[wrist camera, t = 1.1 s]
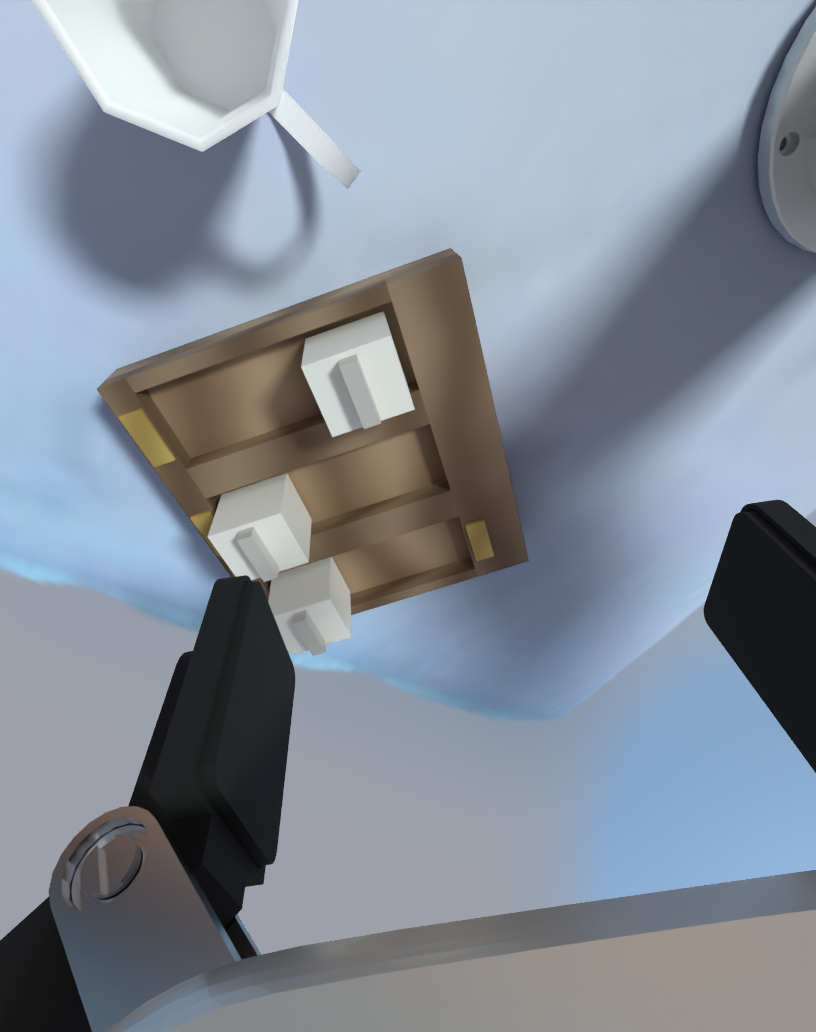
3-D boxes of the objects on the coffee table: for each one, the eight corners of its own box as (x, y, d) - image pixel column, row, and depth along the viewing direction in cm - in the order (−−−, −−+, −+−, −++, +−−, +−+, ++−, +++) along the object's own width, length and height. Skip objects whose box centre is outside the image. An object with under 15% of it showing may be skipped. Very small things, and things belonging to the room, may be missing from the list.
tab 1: (330, 554, 33) (329, 609, 29) (350, 591, 35) (351, 647, 31) (272, 573, 33) (264, 629, 29) (295, 608, 35) (290, 665, 31)
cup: (183, -164, 17) (87, -360, 10) (405, 102, 22) (434, 81, 15) (88, 44, 20) (-37, -9, 13) (304, 241, 24) (293, 276, 18)
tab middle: (286, 472, 29) (279, 522, 25) (311, 519, 31) (308, 572, 27) (221, 494, 29) (204, 546, 25) (250, 539, 31) (238, 594, 28)
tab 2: (383, 311, 25) (392, 341, 21) (405, 377, 27) (417, 416, 23) (305, 338, 25) (299, 373, 21) (333, 402, 27) (332, 445, 23)
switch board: (450, 248, 25) (462, 258, 23) (517, 535, 36) (529, 562, 34) (116, 369, 26) (95, 390, 24) (278, 609, 38) (274, 640, 35)
